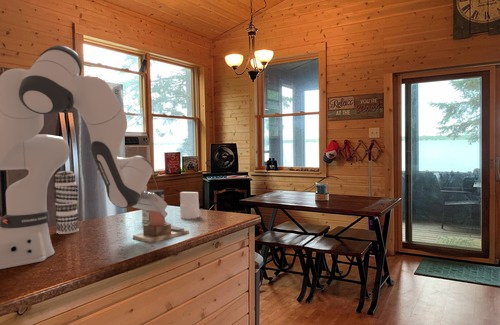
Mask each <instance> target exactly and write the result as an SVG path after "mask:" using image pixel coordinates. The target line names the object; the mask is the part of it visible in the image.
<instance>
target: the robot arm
mask: <svg viewBox="0 0 500 325" xmlns="http://www.w3.org/2000/svg"><path fill="white" fill-rule="evenodd" d="M82 72H83V64H82V59H81V58H80V56H79V54H78V53H77V52H76V51H75V50H73V49H72V48H70V47H67V46H65V45H61V44H59V45H58V44H57V45H53V46H50V47H48V48H46V49H45V50H44V51H43V52H42V53H40V55H39V56H38V57H37V58H36V59H35V61H34V62H33V63H32V65H31V67H30V68H29V69H24V68H11V69H7V70H5V71H4V72H3V73H1V74H0V171H8V170H9V171H12V170H27V171H28V174H27V175H26V176H24V178H21V179H20V180H17V181H16V182H13V183H12V184H10V185H9V186H8V187H7V189H6V190H5V207H6V213H5V215H3V216H0V270H3V269H7V268H13V267H14V268H15V267H19V266H24V265H28V264H33V263H34V264H35V263H39V262H44V261H45V260H47V258H49V257H51V256H53V255H54V254H55V249H54V247H53V244H52V239H51V236H50V230H49V227H50V212H49V210H48V206H47V205H48V204H47V199H48V198H47V197H48V186H49V183H50V181H51V179H52V177H53V175H54V174H55V172H57V170H58V169H60V168H61V167H62V166H64V165H65V164H66V163H67V161H68V159H69V157H70V153H71V151H70V150H71V149H70V147H69V143H68V142H67V141H66V139H65V138H63V136H58V135H53V134H47V133H46V134H43V133H42V134H40V133H41V131H42V130H43V127H44V124H45V123H44V122H45V121H44V119H45V118H44V115H56V114H58V113H59V114H60V113H68V112H70V111H71V110H72V109H73V108H75V110H77V111H78V113H79V114H80V116H81V117H82V119H83V121H84V123H85V125H86V128H87V130H88V134H89V137H90V144H91V145H90V148H91V154H92V157H93V161H94V163H95V165H96V168H97V170H96V171H97V173H98V175H99V176H100V178H101V179H102V180H103V184H104V186H105V190H106V194H107V198H108V200H109V201H110V202H111V204H112V205H114V206H116V207H117V208H120V209H128V208H135V209H139V210H141V211H142V210H143V211H145V212H146V213H148V214H150V211H155V212H160V215H161V216H162V217H165V218H166V217H167V216H168V212H167V211H166V209H167V208H168V203H167V202H166V201H165V199H164V200H163V199H161V198H160V197H159V196H158V195H156V194H155V193H152V192H147V191H146V190H148V186H147V184H148V182H149V181H150V179H151V177H152V175H153V173H154V167H153V165H152V164H151V162H150V161H149V160H148V159H147V158H146V157H143V156H142V155H133V156H129V157H121V156H119V155H118V154H119V152H120V147H121V145H122V141H123V140H124V137H125V134H126V132H127V129H128V119H127V115H126V112H125V109H124V108H123V106H122V104H121V102H120V101H119V98H118V96H117V95H116V94H115V92H114V91H113V89H112V88H111V87H110V86H109V84H108V82H107V81H106V80H105V79H104V78H102V77H101V76H99V75H95V74H90V75H89V74H88V75H84V76H82V75H81V74H82Z"/></svg>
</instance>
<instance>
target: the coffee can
mask: <svg viewBox="0 0 500 325" xmlns="http://www.w3.org/2000/svg"><path fill="white" fill-rule="evenodd" d="M146 191H147V192H152V193H155V194H156V195H158V196H159V197H160V198H161V199H163V200H164V201H165V190H164V189H147V190H146ZM141 214H142V215H141V216H142V223H144V224H150V214H148V213H146V212H145V211H143V210H142V209H141ZM165 218H166V217H164V222H165V220H166V219H165Z"/></svg>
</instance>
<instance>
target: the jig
mask: <svg viewBox="0 0 500 325" xmlns="http://www.w3.org/2000/svg"><path fill="white" fill-rule="evenodd" d="M142 229H143V232H142V233H138V234H133V235H132V239H134V240H138V241H142V242H146V243H151V244H152V243H155V242H160V241H163V240H168V239H171V238H176V237H179V236H182V235H187V234H190V230H189V229H185V228H184V227H180V226H174V225H172V223H169V222H168V223H167V222H164V225H162V226H157V227H154V226H150V223H144V224H143V227H142Z"/></svg>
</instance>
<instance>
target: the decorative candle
mask: <svg viewBox="0 0 500 325" xmlns="http://www.w3.org/2000/svg"><path fill="white" fill-rule="evenodd" d="M54 180H55V181H54V182H55V183H54V186H52V188H53V190H54V191H53V194H54V195H53V198H55V200H54V205H55V206H56V211H55V212H56V213H55V214H56V215H55V218H56V219H55V222H56V223H55V226H56V228H55V230H56V232H55V233H56V234H57V233H58V234H59V235H66V234H73V233H77V232H79V231H80V229H79V224H80V222H79V221H78V220H79V217H78V216H79V213H78V208H77V204H78V200H79V198H78V197H79V195H78V194H77V192H79V189H77V188H79V186H78V185H77V180H76V173H74V171H72V170H63V171H62V170H61V171H56V174H55V175H54Z"/></svg>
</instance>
